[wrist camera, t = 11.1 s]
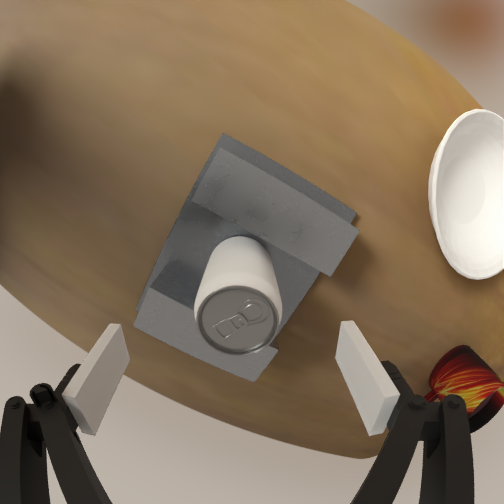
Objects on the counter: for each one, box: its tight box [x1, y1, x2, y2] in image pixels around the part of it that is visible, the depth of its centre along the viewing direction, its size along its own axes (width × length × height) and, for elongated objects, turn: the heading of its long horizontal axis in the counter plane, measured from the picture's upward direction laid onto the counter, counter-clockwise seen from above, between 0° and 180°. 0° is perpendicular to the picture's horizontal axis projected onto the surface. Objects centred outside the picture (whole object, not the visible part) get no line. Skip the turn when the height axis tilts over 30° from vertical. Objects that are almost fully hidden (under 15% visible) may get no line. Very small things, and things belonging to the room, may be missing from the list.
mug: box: [424, 345, 504, 434], centre depth 33 cm, size 10×14×12 cm
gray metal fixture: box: [133, 133, 360, 382], centre depth 29 cm, size 16×22×6 cm
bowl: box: [428, 109, 504, 280], centre depth 27 cm, size 20×20×6 cm
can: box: [194, 236, 282, 357], centre depth 25 cm, size 6×6×12 cm
